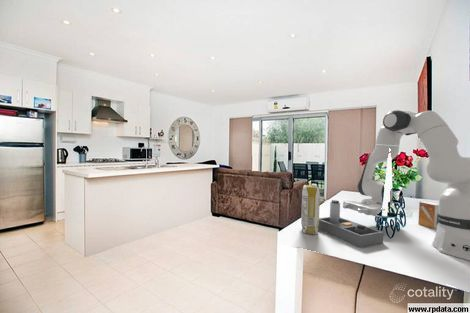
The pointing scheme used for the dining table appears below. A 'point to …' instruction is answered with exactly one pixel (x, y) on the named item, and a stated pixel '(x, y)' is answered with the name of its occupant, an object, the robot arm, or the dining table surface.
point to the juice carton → (310, 209)
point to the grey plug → (334, 212)
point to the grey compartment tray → (351, 232)
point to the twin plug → (360, 230)
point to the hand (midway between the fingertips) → (351, 208)
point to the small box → (428, 214)
